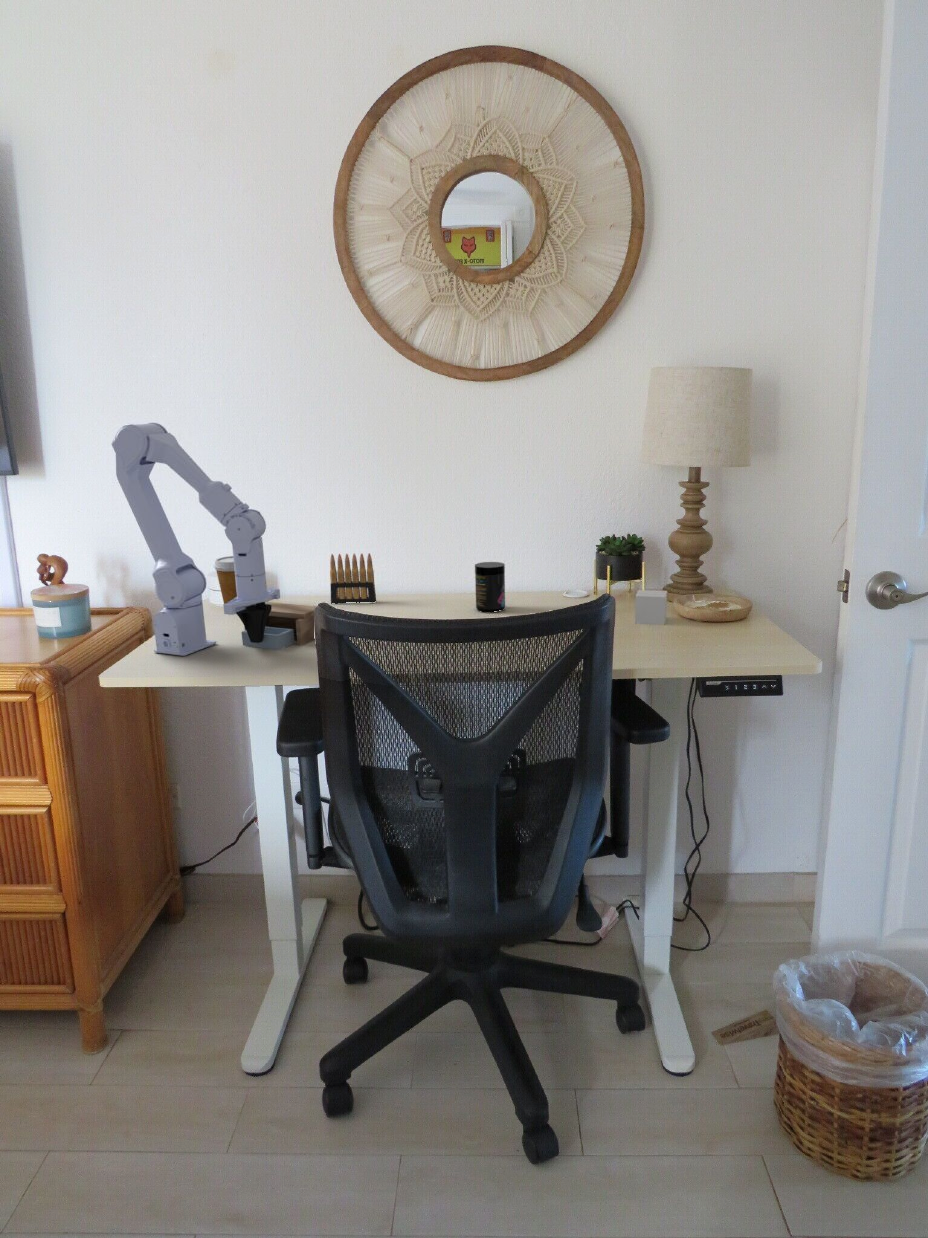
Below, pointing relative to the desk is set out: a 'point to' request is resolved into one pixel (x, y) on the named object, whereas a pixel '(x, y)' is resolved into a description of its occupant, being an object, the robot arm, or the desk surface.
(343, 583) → the ammunition clip
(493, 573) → the supplement container
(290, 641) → the grey tray
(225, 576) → the disposable coffee cup
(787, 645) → the desk surface
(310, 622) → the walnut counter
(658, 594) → the grey cube
